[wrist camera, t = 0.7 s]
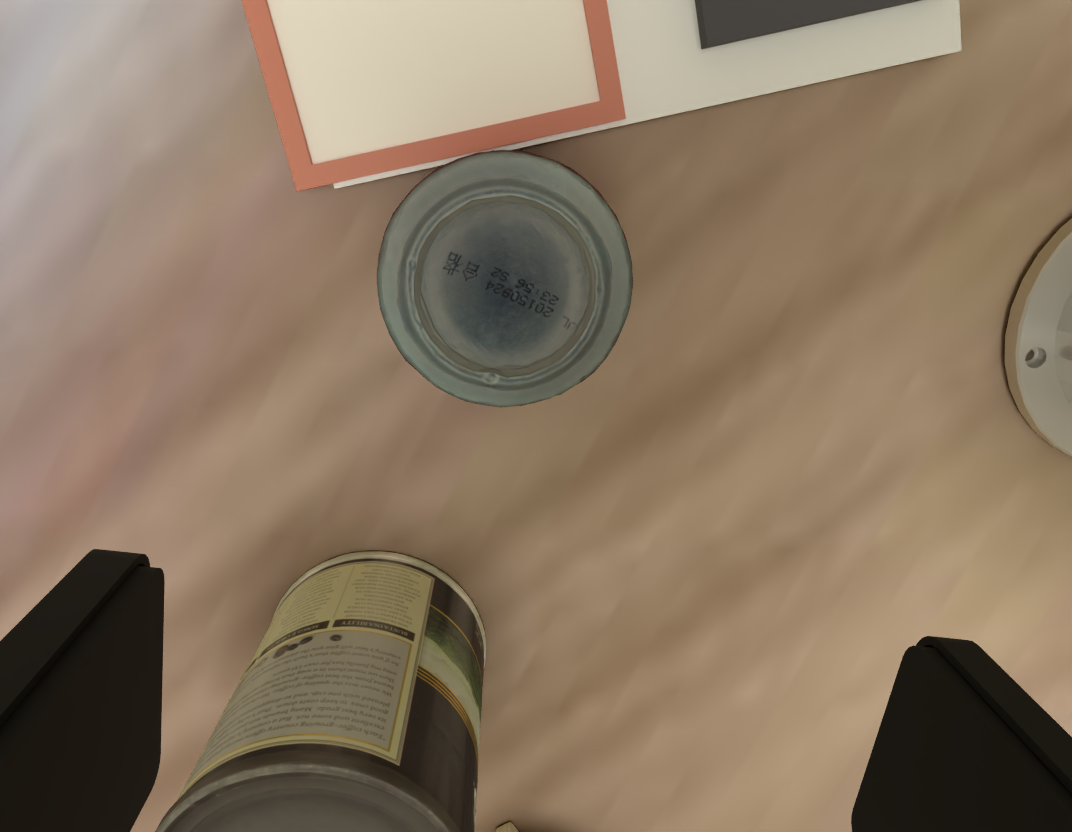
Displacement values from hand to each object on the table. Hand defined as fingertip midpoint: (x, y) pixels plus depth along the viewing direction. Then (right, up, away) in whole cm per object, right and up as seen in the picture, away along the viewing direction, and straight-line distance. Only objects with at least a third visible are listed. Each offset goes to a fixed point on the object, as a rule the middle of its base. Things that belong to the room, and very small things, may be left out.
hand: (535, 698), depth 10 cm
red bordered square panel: (-4, +19, +19) cm, 27 cm away
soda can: (-1, +11, +23) cm, 25 cm away
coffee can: (-7, -7, +29) cm, 31 cm away
